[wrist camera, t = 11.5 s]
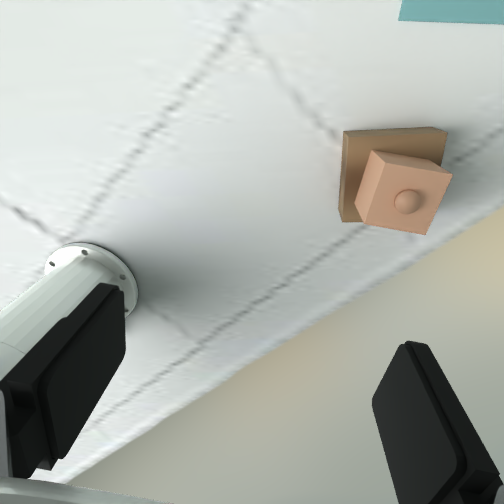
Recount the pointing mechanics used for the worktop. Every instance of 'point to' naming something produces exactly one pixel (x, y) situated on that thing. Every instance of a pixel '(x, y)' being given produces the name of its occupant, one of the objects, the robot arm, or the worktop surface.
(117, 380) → the worktop surface
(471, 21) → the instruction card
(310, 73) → the worktop surface
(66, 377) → the robot arm
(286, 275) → the worktop surface
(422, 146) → the walnut block
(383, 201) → the painted brick
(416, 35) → the worktop surface
